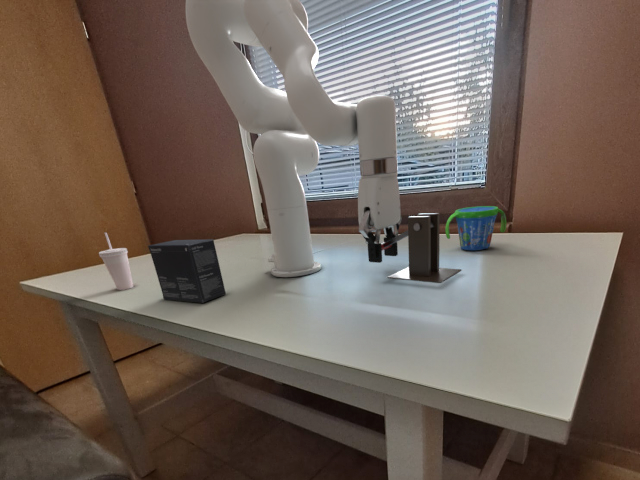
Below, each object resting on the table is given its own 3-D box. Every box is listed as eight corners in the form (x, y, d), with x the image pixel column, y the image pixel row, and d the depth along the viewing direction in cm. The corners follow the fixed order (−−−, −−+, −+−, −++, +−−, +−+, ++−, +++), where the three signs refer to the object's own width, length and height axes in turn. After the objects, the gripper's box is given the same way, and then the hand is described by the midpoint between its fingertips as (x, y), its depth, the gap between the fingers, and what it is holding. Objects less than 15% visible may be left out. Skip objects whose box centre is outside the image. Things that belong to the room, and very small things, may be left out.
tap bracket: (387, 282, 80) (384, 219, 74) (410, 270, 86) (409, 212, 81) (440, 288, 72) (441, 218, 67) (461, 275, 79) (463, 211, 74)
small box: (227, 294, 83) (214, 238, 78) (203, 304, 78) (188, 245, 73) (187, 290, 89) (173, 238, 84) (162, 299, 84) (146, 245, 79)
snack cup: (449, 254, 97) (450, 213, 93) (441, 247, 107) (441, 209, 103) (511, 249, 96) (515, 207, 92) (498, 242, 106) (500, 203, 101)
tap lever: (375, 255, 81) (371, 245, 81) (389, 250, 85) (384, 240, 85) (425, 229, 72) (420, 217, 72) (438, 224, 76) (433, 213, 76)
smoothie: (131, 283, 102) (113, 230, 96) (143, 285, 99) (125, 230, 93) (107, 290, 98) (86, 234, 92) (119, 292, 94) (98, 235, 88)
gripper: (385, 168, 84) (389, 250, 92) (337, 173, 73) (346, 266, 80) (415, 165, 80) (417, 251, 88) (370, 170, 68) (376, 269, 76)
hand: (383, 257), depth 84 cm, fingers closed on tap lever, 5 cm apart
